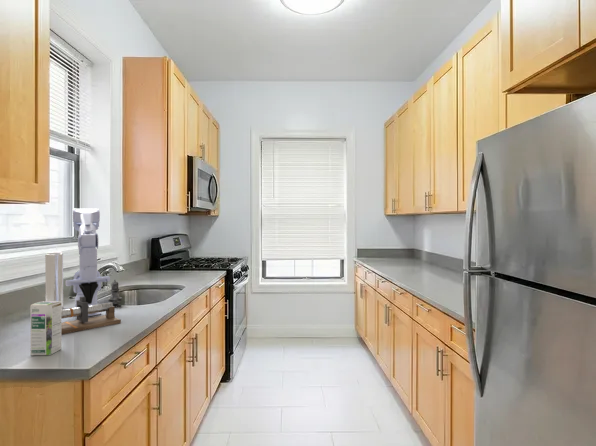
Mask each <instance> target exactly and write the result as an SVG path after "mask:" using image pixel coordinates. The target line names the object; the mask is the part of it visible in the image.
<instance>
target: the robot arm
mask: <svg viewBox="0 0 596 446" xmlns="http://www.w3.org/2000/svg"><path fill="white" fill-rule="evenodd" d="M100 216H101V213H100V209H99V208H76V207H74V208H73V209H72V226H73V230H75V231H76V232H78V236H77V248H78V255H79V256H78V257H79V260H78V261H79V266H78V267H79V269H78V270H76V271H75V272H74V274H73V279H66V280H65V286H66V287H71V286H73V287H72V289H73V293H74V294H76V296H75V298H74V308H77V302H76V300H80V297H86V302H88V306H90V305H97V304H98V293H99V292H100V291H101V290H102V283H109V282H111V276H109V275H106V276H101V273H100V272H101V271H99V270H98V249H99V235H98V233H97V230H98V229H99V227H100V219H101V218H100ZM100 315H102V312H98V313H92V314H88V317H95V316H100Z"/></svg>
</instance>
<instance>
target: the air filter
mask: <svg viewBox="0 0 596 446" xmlns="http://www.w3.org/2000/svg"><path fill="white" fill-rule="evenodd" d="M44 257H45V258H44V259H45V260H44V261H45V273H44V274H45V275H44V276H45V302H54V301H61V310H64V253H63V251H47V252H46V253H45V256H44Z"/></svg>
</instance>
